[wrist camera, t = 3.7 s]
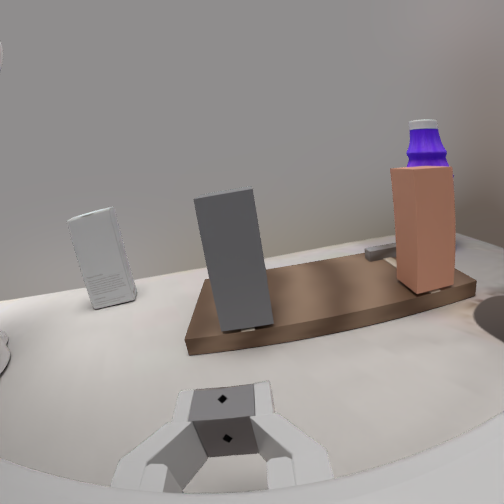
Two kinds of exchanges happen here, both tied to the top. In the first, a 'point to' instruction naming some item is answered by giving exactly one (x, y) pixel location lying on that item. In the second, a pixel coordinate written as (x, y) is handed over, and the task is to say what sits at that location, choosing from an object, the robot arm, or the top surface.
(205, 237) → the grey tall block
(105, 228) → the skincare box
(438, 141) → the bottle
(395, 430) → the top surface
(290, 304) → the wooden board
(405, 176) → the plug terracotta
